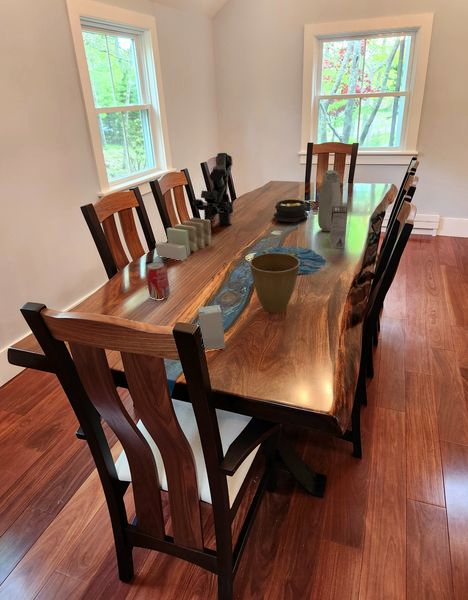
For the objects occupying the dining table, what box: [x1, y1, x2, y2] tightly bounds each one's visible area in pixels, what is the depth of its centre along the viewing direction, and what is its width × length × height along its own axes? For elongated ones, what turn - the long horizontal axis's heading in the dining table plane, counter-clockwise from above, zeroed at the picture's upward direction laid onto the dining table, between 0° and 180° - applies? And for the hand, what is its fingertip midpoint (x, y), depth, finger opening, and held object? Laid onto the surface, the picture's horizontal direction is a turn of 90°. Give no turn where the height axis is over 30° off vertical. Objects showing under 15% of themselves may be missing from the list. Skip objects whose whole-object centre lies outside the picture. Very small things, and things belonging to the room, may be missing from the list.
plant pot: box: [249, 253, 300, 314], centre depth 124 cm, size 15×15×16 cm
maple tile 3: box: [174, 223, 199, 253], centre depth 177 cm, size 2×10×11 cm, turn 58°
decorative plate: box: [252, 246, 327, 275], centre depth 161 cm, size 30×30×5 cm
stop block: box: [155, 241, 188, 262], centre depth 170 cm, size 3×14×6 cm, turn 58°
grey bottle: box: [317, 169, 342, 232], centre depth 187 cm, size 10×10×28 cm
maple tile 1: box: [189, 217, 213, 245], centre depth 185 cm, size 2×10×11 cm, turn 58°
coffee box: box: [329, 205, 348, 249], centre depth 172 cm, size 9×6×16 cm
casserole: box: [273, 199, 309, 223], centre depth 213 cm, size 25×19×8 cm
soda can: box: [145, 261, 171, 299], centre depth 136 cm, size 7×7×12 cm
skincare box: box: [197, 304, 226, 351], centre depth 106 cm, size 6×4×12 cm
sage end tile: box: [166, 227, 191, 257], centre depth 173 cm, size 2×10×11 cm, turn 58°
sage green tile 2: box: [182, 220, 206, 249], centre depth 181 cm, size 2×10×11 cm, turn 58°
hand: (205, 221), depth 187 cm, fingers closed
